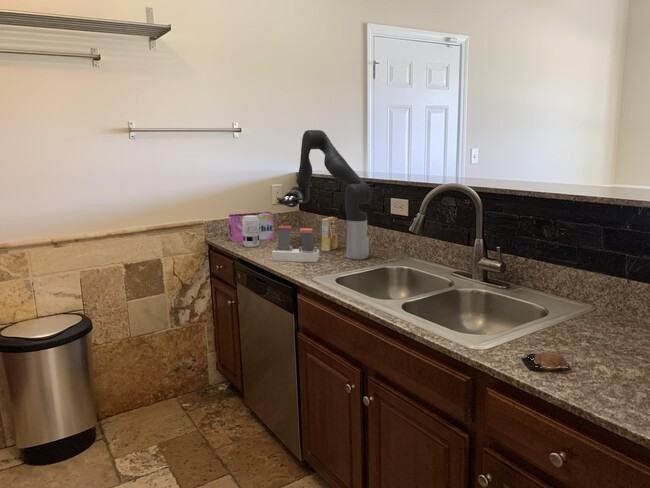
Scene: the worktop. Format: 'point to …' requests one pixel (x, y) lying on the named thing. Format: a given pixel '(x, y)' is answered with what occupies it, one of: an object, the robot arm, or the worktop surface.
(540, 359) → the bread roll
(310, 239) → the near paddle
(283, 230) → the far paddle
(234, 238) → the gum box
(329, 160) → the robot arm
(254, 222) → the supplement can
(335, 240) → the candy box
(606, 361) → the worktop surface
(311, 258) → the white paddle base
